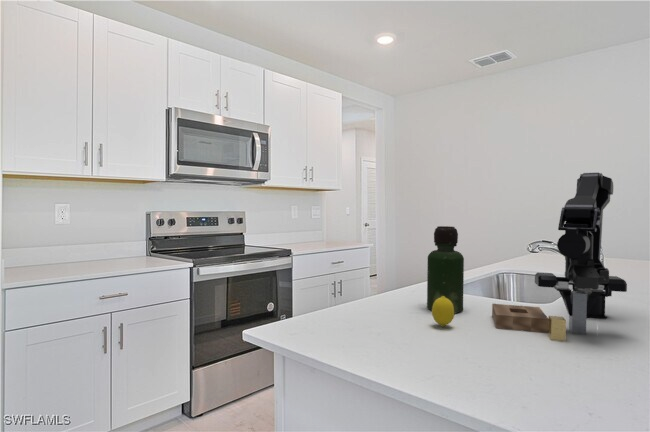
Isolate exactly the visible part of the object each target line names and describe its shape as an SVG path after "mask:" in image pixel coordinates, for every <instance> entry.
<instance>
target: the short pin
mask: <svg viewBox="0 0 650 432" xmlns="http://www.w3.org/2000/svg"><path fill="white" fill-rule="evenodd" d="M548 319H549V326H548V333H547V335H548V338H549V340H550V341H555V340H557V342H566V340H567V339H566V336H567V335H566V333H567V330H566V329H567V320H566V318H565V317H563V316H560V315H559V316H557V315H548Z"/></svg>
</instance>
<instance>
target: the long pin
mask: <svg viewBox="0 0 650 432" xmlns="http://www.w3.org/2000/svg"><path fill="white" fill-rule="evenodd" d="M571 307H572V314H571V316H569V315H568V318H569V319H568V330H569V332H570V333H571V334H575V335H587V317H586V315H587V294H586V293H585V292H583V291H573V290H571Z"/></svg>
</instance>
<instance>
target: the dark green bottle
mask: <svg viewBox="0 0 650 432" xmlns="http://www.w3.org/2000/svg"><path fill="white" fill-rule="evenodd" d="M458 239H459V233H458V230H457V228H455V226H450V225H449V226H448V225H447V226H443V225H441V226H436V228H435V229H434V232H433V243H434V246H436V248H437V249H435V250H432V251H431V252H430V253H428V256H427V271H426V273H427V274H426V275H427V277H426V278H427V280H426V281H427V282H426V283H427V284H426V285H427V286H426V287H427V288H426V290H427V291H426V298H427V299H426V308H427V309H428V310H430V311H432V307H433V304H434V302H435V300H436V299H438V298H441V297H442V296H445V298H447V299H449V300H450V301H451V302H452V304H453V307H454V314H457V313H461V312H462V311H463V310H464V281H465V279H464V278H465V277H464V273H465V272H464V271H465V268H464V267H465V258H464V256H463V254H462V253H461V252H460V251H458V250H455V249H454V248H455V247H457V245H458V242H459V240H458Z"/></svg>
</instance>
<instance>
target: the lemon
mask: <svg viewBox="0 0 650 432" xmlns="http://www.w3.org/2000/svg"><path fill="white" fill-rule="evenodd" d="M431 314H432V315H431V316H432V317H433V320H434V321H435V323H436V324H438V325H440V326H441V327H442V328H445V326H447V325H449V324H451V323H452V322H453V320H454V318H455V313H454V307H453V304H452V302H451V301H450V300H449V299H447V298H445V296H442V297H441V298H438V299H436V300H435V302H434V304H433V307H432V310H431Z"/></svg>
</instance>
